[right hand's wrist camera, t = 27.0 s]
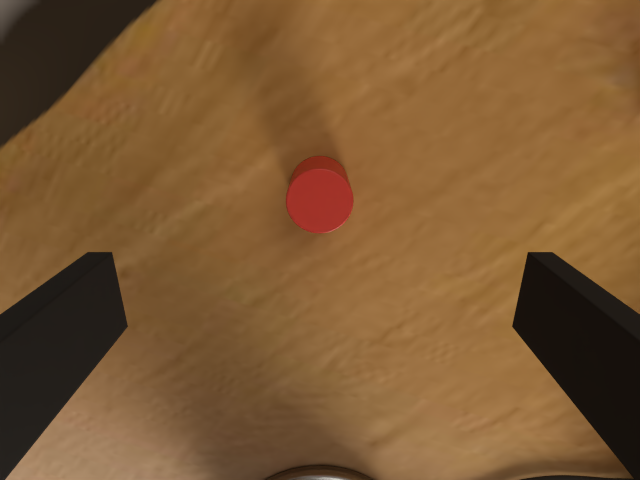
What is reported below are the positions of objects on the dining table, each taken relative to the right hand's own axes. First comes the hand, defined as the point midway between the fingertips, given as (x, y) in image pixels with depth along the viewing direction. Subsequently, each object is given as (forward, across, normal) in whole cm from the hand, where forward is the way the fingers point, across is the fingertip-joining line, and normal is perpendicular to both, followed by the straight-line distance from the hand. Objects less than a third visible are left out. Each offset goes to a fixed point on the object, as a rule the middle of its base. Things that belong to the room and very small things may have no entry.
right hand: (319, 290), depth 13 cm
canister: (+15, 0, 0) cm, 15 cm away
